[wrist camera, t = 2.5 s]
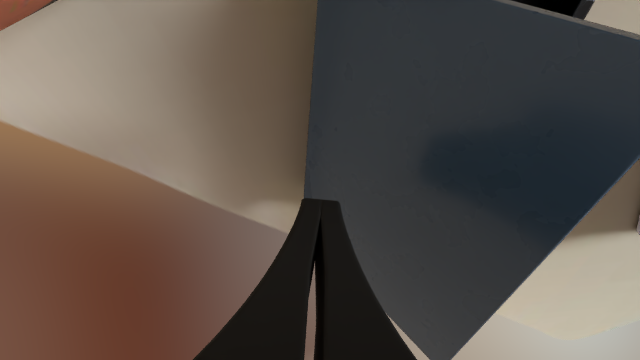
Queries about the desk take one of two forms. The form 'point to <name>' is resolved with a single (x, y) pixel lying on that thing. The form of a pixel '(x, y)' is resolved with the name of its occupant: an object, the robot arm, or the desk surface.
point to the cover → (464, 146)
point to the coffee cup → (19, 10)
